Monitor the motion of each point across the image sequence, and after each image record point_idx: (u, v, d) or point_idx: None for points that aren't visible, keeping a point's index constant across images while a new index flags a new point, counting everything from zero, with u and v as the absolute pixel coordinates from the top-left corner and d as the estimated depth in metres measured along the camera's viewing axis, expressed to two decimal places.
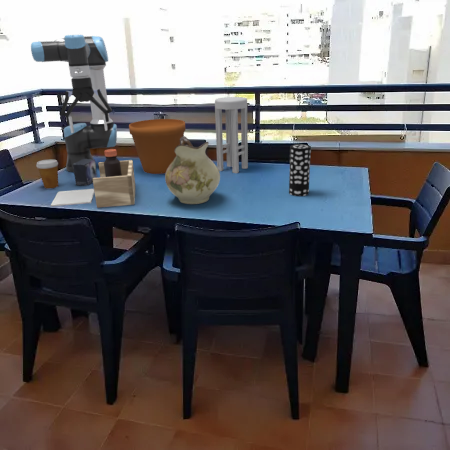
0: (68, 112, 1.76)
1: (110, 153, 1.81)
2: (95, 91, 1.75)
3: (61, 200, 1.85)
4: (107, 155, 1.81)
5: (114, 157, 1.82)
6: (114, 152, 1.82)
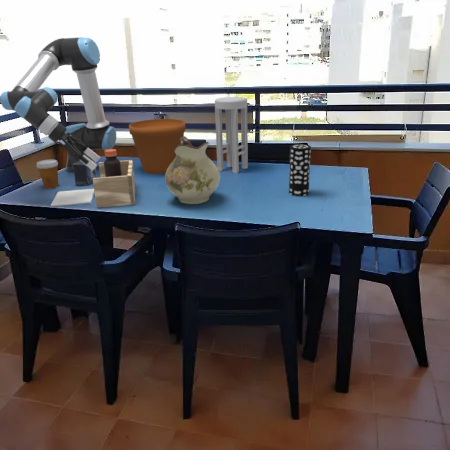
0: None
1: (110, 153, 1.81)
2: None
3: (61, 200, 1.85)
4: (107, 155, 1.81)
5: (114, 157, 1.82)
6: (114, 152, 1.82)
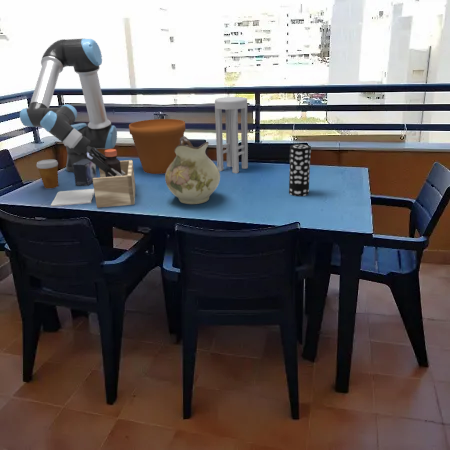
0: None
1: (110, 153, 1.80)
2: None
3: (61, 200, 1.85)
4: (107, 155, 1.81)
5: (114, 157, 1.82)
6: (114, 152, 1.81)
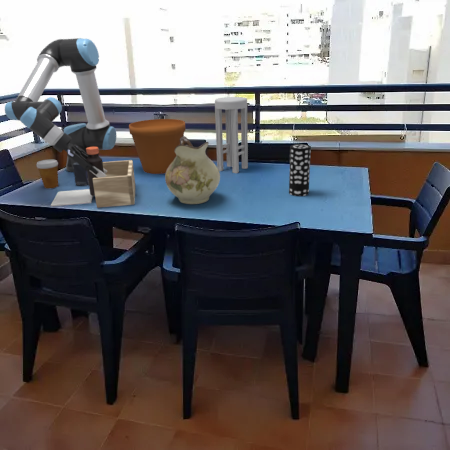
0: None
1: (92, 151, 1.78)
2: None
3: (61, 200, 1.85)
4: (89, 153, 1.78)
5: (96, 155, 1.80)
6: (96, 150, 1.79)
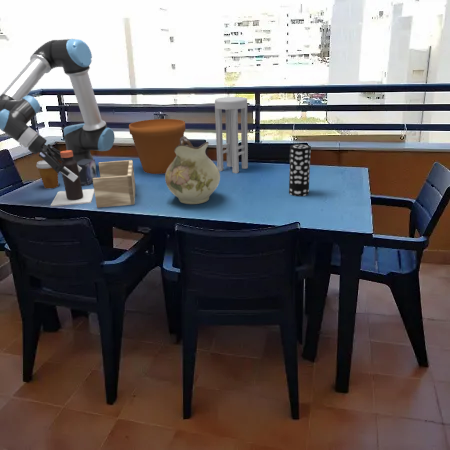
0: None
1: (65, 154, 1.78)
2: None
3: (61, 200, 1.85)
4: (62, 156, 1.78)
5: (70, 158, 1.80)
6: (70, 153, 1.79)
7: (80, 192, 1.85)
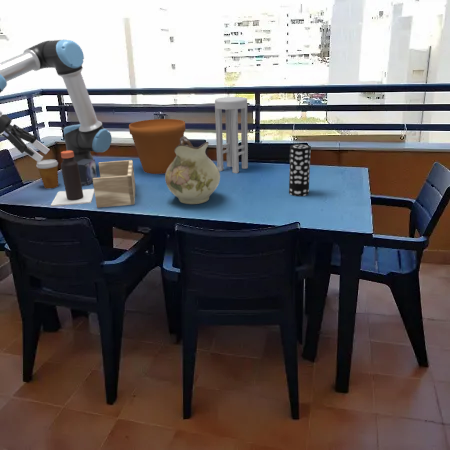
0: None
1: (66, 155, 1.78)
2: None
3: (61, 200, 1.85)
4: (63, 157, 1.78)
5: (71, 159, 1.79)
6: (70, 154, 1.78)
7: (80, 192, 1.85)
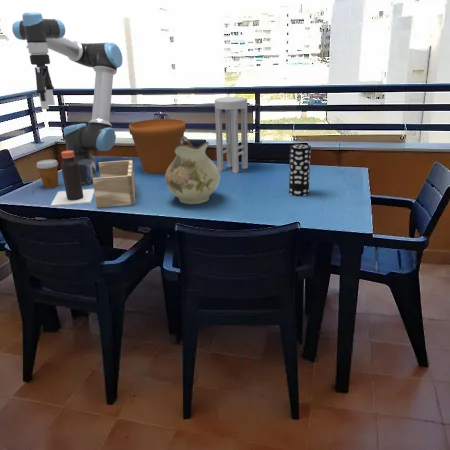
0: None
1: (67, 155, 1.78)
2: None
3: (61, 200, 1.85)
4: (64, 157, 1.78)
5: (71, 159, 1.79)
6: (71, 154, 1.79)
7: (80, 193, 1.85)
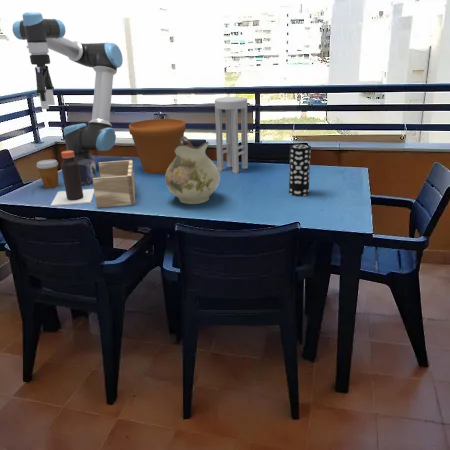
0: None
1: (67, 155, 1.78)
2: None
3: (61, 200, 1.85)
4: (64, 157, 1.78)
5: (71, 159, 1.79)
6: (71, 154, 1.79)
7: (80, 193, 1.85)
